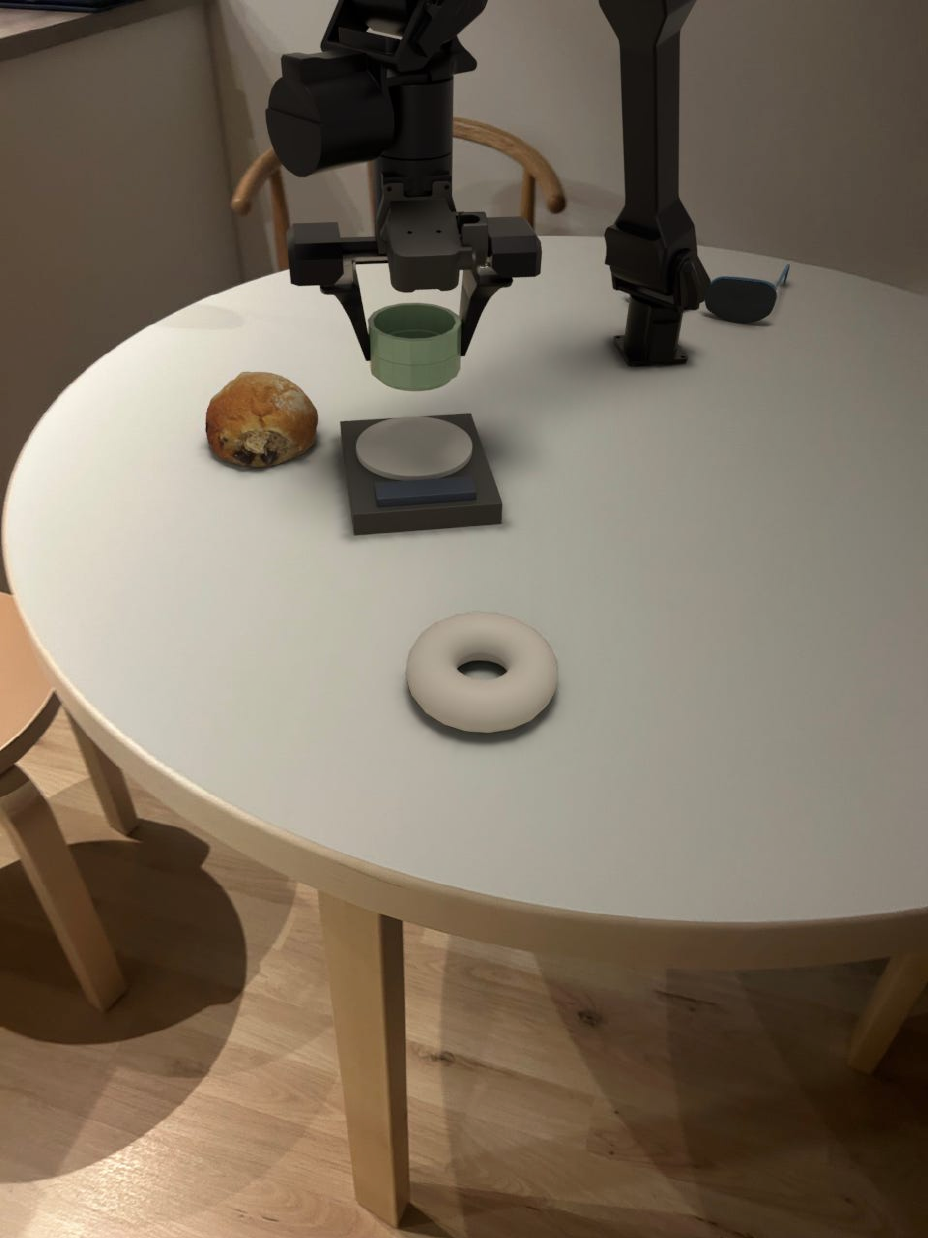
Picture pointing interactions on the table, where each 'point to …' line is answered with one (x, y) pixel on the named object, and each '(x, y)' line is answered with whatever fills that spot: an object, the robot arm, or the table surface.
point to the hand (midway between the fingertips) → (414, 356)
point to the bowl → (415, 346)
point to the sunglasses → (742, 298)
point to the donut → (481, 699)
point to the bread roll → (260, 420)
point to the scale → (417, 474)
